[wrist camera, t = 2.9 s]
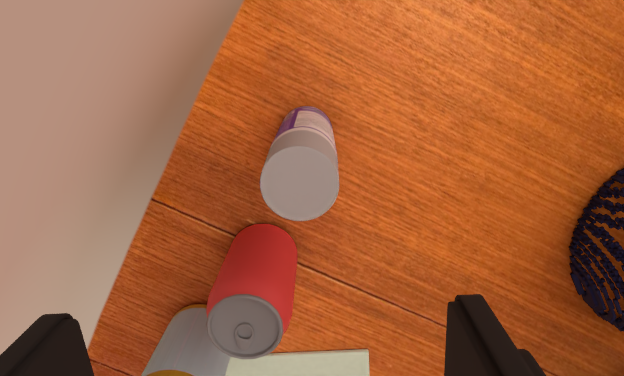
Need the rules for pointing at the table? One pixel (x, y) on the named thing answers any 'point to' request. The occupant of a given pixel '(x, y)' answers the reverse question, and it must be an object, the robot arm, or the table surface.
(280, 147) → the container
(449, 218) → the table surface
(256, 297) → the beer can
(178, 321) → the bottle
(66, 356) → the robot arm
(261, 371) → the mat
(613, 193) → the decorative bowl
